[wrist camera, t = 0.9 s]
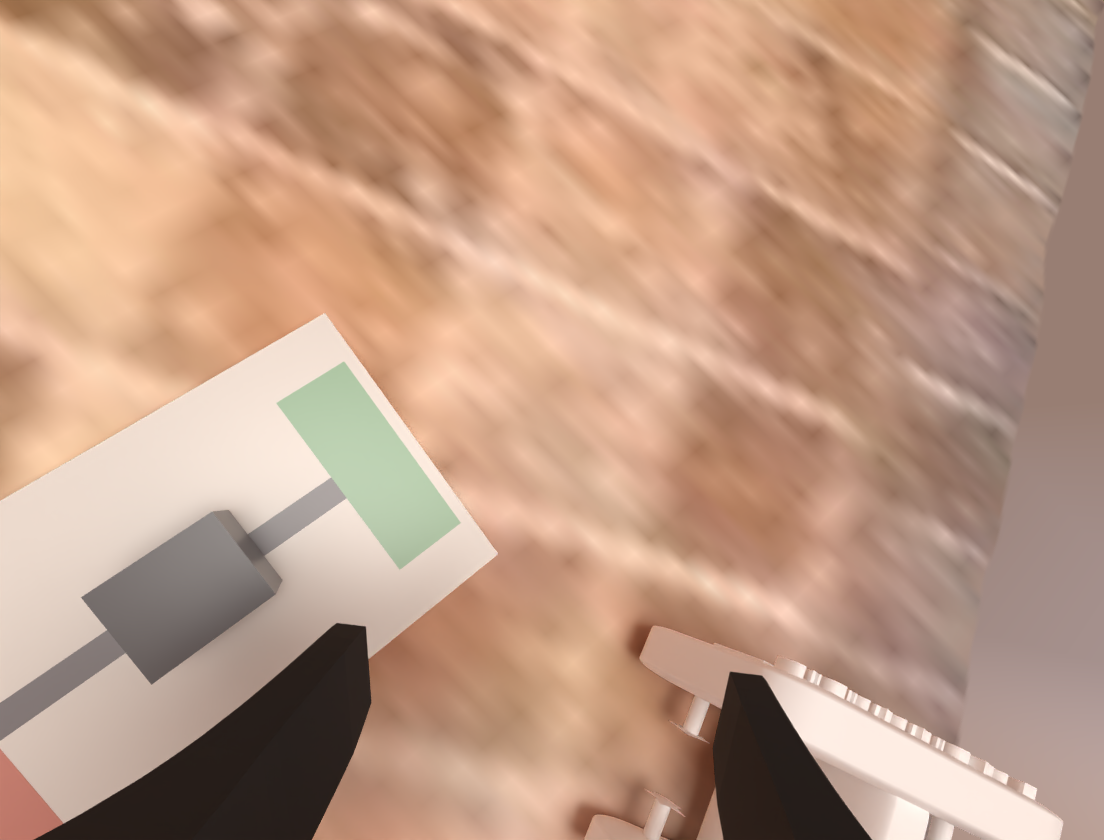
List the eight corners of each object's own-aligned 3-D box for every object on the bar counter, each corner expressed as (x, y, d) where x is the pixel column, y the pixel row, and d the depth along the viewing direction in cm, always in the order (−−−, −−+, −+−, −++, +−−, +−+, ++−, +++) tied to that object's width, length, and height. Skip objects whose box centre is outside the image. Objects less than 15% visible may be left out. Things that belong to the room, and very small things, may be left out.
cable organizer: (544, 828, 29) (681, 1029, 18) (638, 605, 31) (806, 660, 21) (795, 929, 32) (1037, 1147, 21) (859, 721, 35) (1102, 820, 24)
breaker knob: (178, 655, 22) (151, 684, 19) (119, 581, 22) (80, 597, 18) (282, 580, 24) (275, 594, 20) (228, 509, 23) (212, 511, 20)
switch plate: (27, 914, 22) (-8, 963, 20) (-210, 642, 21) (-277, 660, 19) (484, 549, 29) (498, 553, 27) (324, 328, 28) (324, 312, 26)
